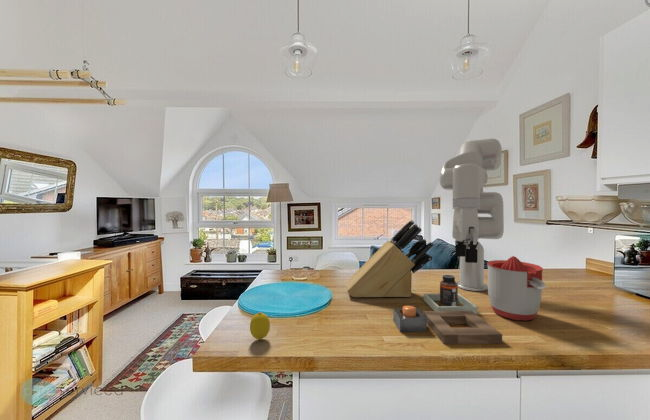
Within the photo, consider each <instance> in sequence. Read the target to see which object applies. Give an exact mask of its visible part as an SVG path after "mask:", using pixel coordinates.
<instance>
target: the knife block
mask: <svg viewBox="0 0 650 420" xmlns="http://www.w3.org/2000/svg"><path fill="white" fill-rule="evenodd" d="M421 232H422V228H421V227H420V226H418V225H417V223H415V222H414V220H413V219H411V220H409V221H408V222H407V223H405V225H403V227H401V228H400V230H398V232H397V233H396V234H394V235H393V237H391V239H390V240H386V241H385V242H384V244H383V245H381V246H380V248H379V249H377V251H376V252H374V253H373V254H372V255H371V256H370V258H369V259H368V260H367V261H365V262H364V264H363V265H362V266H360V267H359V268H358V270H357V271H356V272H355V273H354V274H352V276H351V277H350V278H349V279H348V280H346V282H345V285H346V289H347V291H346V292H347V294H349V295H350V296H351V297H353V298H387V297H389V298H410V297H412V280H413V279H412V277H413V276H412V275H413V274H415V273H416V272H418V271H419V270H421V269H422V268H423V267H424V266H425V265H426V264H427V263H428V262H430V261H432V260H433V256H432V255H429V254H428V253H427V252H428V251H429V250H430V249H432V247H434V243H433V242H432V241H430V242H428V243H427V239H425V238H423V239H422V240H421V239H420V240H418V241H416V242H415V243H414V244H413V245H412V246H411V247H410V248H409V250H408V253H406V254H405V253H404V252H403V251H402V250H403V249H405V248H406V247H407V246H408V245H409V244H410V243H411V242H412V241H413V240H414V239H415V238H416V237H417V236H418V235H419V234H420V233H421ZM412 256H413V258H411V257H412ZM410 258H411V259H410Z"/></svg>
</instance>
